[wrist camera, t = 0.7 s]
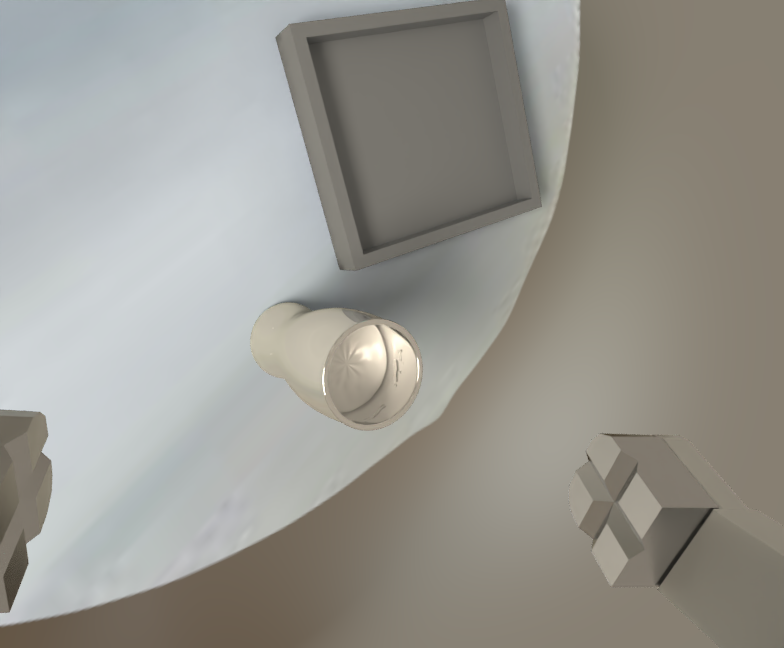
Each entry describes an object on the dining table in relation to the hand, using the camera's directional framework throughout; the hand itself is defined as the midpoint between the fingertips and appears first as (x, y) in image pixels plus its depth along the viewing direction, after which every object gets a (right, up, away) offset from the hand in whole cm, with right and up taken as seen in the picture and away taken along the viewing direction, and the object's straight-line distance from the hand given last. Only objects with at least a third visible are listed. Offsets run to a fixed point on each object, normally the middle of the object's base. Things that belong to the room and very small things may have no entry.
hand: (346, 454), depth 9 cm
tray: (+3, +18, +41) cm, 45 cm away
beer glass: (-8, +1, +38) cm, 39 cm away
